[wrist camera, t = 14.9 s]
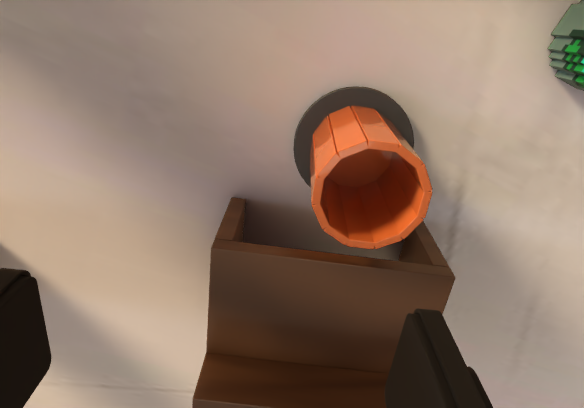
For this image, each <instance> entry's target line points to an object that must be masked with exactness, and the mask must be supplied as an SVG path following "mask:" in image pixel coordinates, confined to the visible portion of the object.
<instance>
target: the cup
mask: <svg viewBox="0 0 584 408" xmlns="http://www.w3.org/2000/svg"><path fill="white" fill-rule="evenodd" d="M310 173H311V203H312V208H313V210H314V212H315V214H316V217H317V219H318V221H319V224H320V226H321V228H322V229H323V230H324V231H325V232H326V233H328V234H329V235H330V236H332V237H333V238H335V239H336V240H338V241H339V242H340V243H342V244H343V245H347V246H349V247H357V248H365V249H374V247H375V249H378V248H381V247H384V246H387V245H390V244H393V243H396V242H399V241H402V238H403V239H405V238H406V237H407V236H408V235H409V234H410V233H411V232H412V231H413V230H414V229H415V228H416V227H417V226H418V225H419V224H420V223H421V222H422V221H423V220H424V219H423V218H425V216H426V213H427V209H428V206H429V203H430V199H431V196H432V186H431V183H430V179H429V176H428V173H427V170H426V166H425V164H424V163H423V161H422V160H421V159H420V157H419V156H418V155H417V154H416V152H415V151H414V150H413V149H412V147H411V146H410V145H409V144H408V142H407V141H406V140H405V139H404V137H403V136H402V135H401V134H400V132H399V131H398V130H397V129H396V127H395V126H394V125H393V124H392V122H391V121H389V120H388V119H387V118H386V117H384V116H383V115H382V114H381V113H379V112H378V111H377V110H376V109H373V108H367V107H360V106H351V107H350V106H348V107H345V108H343V109H340V110H338V111H335V112H333V113H330V114H329V116H328V115H327V116H326V118H325V119H324V120H323V121H322V123H321V124H320V125H319V126H318V128H317V129H316V130H315V131H314V134H313V137H312V143H311V150H310Z"/></svg>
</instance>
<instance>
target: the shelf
mask: <svg viewBox="0 0 584 408" xmlns="http://www.w3.org/2000/svg"><path fill="white" fill-rule="evenodd" d="M245 205H246V199H241V198H233V197H232V198H231V200H230V203H229V205H228V207H227V210H226V212H225V215H224V217H223V220H222V222H221V225H220V227H219V230H218V232H217V235H216V237H215V240H214V242H213V245H212V247H211V263H210V285H209V307H208V329H207V350H206V355H205V359H204V362H203V366H202V369H201V372H200V376H199V379H198V383H197V386H196V389H195V393H194V396H193V407H192V408H387V407H386V403H385V395H384V392H385V385H386V381H387V378H388V375H389V371H390V368H391V365H392V362H393V358H394V355H395V352H396V348H397V345H398V342H399V338H400V335H401V332H402V329H403V325H404V322H405V319H406V316H407V314H409V313H411V314H413V312H414V310H415V309H417V308H419V309H430V310H438V311H440V312H441V314H443V311H444V308H445V306H446V303H447V300H448V297H449V294H450V291H451V289H452V286H453V283H454V280H455V276H454V274H453V272H452V271H451V269H450V268H449V265H448V264H447V262H446V260H445V258H444V257H443V255H442V253H441V251H440V250H439V248H438V246H437V244H436V243H435V241H434V239H433V237H432V236H431V234H430V232H429V230H428V229H427V227H426V225H425V223H424V222H423V221H422V222H421V223H420V224H419V225H418V226H417V227H416V228H415V229H414V230H413V231H412V232H411V233H410V234H409V235H408V236H407V237H406V238H405V239H404V243H403V246H402V250H401V254H400V257H399V261H391V260H383V259H375V258H367V257H359V256H350V255H342V254H334V253H326V252H318V251H309V250H301V249H293V248H285V247H277V246H269V245H260V244H252V243H244V242H242V241H243V229H244V217H245Z"/></svg>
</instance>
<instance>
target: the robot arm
mask: <svg viewBox="0 0 584 408" xmlns="http://www.w3.org/2000/svg"><path fill="white" fill-rule="evenodd" d="M50 364H51V352H50V347H49V341H48V336H47V331H46V326H45V321H44V315H43V310H42V305H41V300H40V295H39V289H38V284H37V281H36V279H35V278H34V277H31V275H30V273H29V272H28V271H25V270H16V269H6V268H2V269H0V408H23V407H24V405H25V404H26V402H27V401H28V399H29V398H30V396H31V395H32V393H33V392H34V390H35V389H36V387H37V386H38V385H39V383H40V382H41V380H42V379H43V377H44V376H45V374H46V373H47V371H48V369H49V367H50ZM384 395H385V403H386V407H387V408H493V406H492V404H491V402H490V400H489V398H488V396H487V394H486V392H485V390H484V388H483V386H482V384H481V382H480V380H479V378H478V376H477V374H476V373H475V371H474V370H473V369H472V368H471V367H467V366H466V364H465V362H464V360H463V358H462V355H461V353H460V351H459V349H458V347H457V345H456V343H455V341H454V339H453V337H452V334H451V332H450V330H449V328H448V326H447V324H446V322H445V320H444V318H443V316H442V314H441V312H440V311H438V310H430V309H419V308H417V309H415V310H414V312H413V314H411V313H409V314H407V316H406V319H405V322H404V325H403V329H402V332H401V335H400V338H399V342H398V345H397V348H396V352H395V355H394V358H393V362H392V365H391V368H390V371H389V375H388V378H387V381H386V385H385V392H384Z"/></svg>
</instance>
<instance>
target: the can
mask: <svg viewBox="0 0 584 408" xmlns="http://www.w3.org/2000/svg"><path fill="white" fill-rule="evenodd" d="M551 35H553V36H555V39H554V40H553V42H552V43H551V45H550V46H549V47H548V49H549V50H551V51H552V53H551V54H550V55H549V58H551V59H553V61H552V62H551V63H550V66H551V67H553V68H555V69H557V70H558V72H557V73H556V75H555V77H557V78H559V79H561V80H562V81H564V82H566V83H568V84H570V85H571V86H573V87H575V88H577V89H580V90H583V91H584V0H582V1H581V2H580V3H579V4H572V5H571V6H570V8H569V9H568V11H567V12H566V13H565V15H564V16H563V18H562V19H561V21H560V22H559V23H558V25H557V26H556V28H555V29H554V31H553V32H552V34H551Z"/></svg>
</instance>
